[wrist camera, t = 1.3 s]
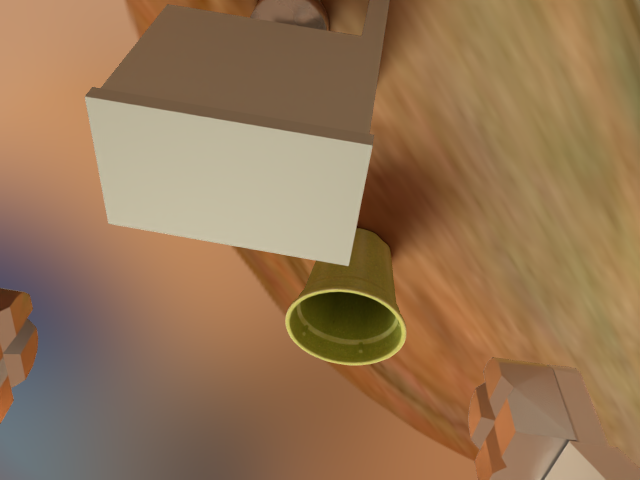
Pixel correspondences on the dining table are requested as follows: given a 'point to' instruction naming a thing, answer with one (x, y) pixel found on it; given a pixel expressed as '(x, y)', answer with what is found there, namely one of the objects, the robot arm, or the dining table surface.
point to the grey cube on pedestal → (241, 131)
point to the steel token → (293, 13)
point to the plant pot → (350, 307)
